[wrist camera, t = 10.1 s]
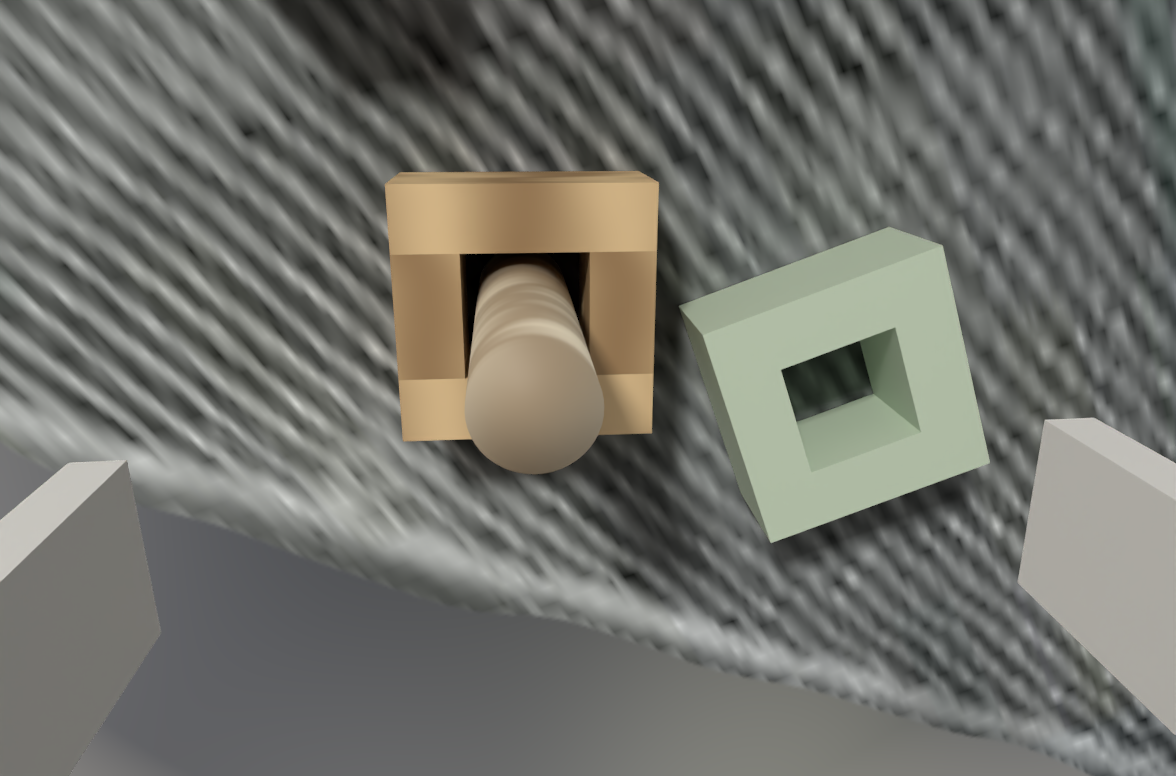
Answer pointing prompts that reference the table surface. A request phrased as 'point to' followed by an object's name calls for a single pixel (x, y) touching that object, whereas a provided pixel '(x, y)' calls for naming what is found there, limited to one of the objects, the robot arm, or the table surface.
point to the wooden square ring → (521, 225)
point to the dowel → (530, 369)
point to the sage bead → (857, 429)
